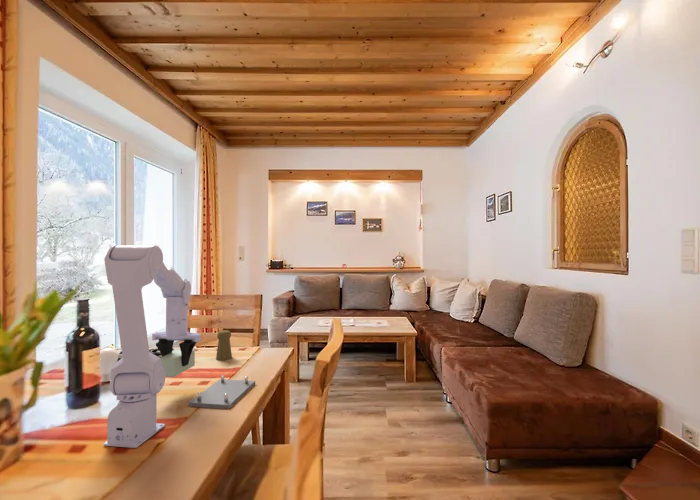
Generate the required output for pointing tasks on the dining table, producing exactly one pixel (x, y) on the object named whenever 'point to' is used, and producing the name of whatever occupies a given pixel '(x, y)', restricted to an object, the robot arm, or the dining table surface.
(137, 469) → the dining table surface
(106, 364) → the lightbulb
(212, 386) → the pin holder
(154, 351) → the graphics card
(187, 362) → the robot arm
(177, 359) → the sage green block
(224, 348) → the olive pepper mill
